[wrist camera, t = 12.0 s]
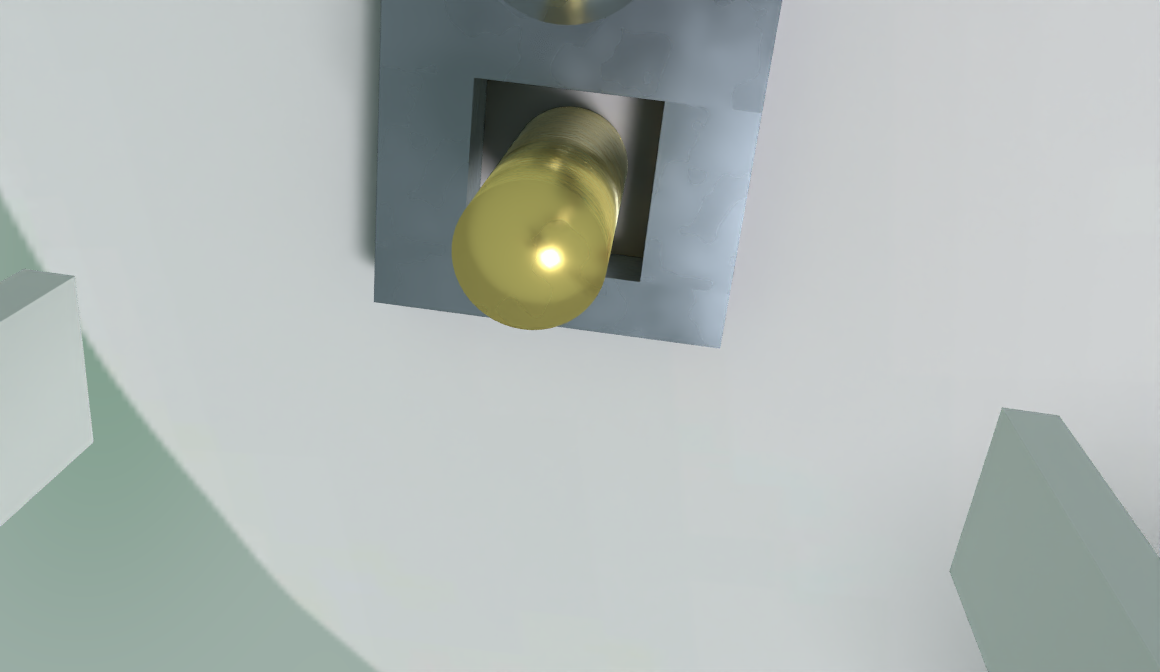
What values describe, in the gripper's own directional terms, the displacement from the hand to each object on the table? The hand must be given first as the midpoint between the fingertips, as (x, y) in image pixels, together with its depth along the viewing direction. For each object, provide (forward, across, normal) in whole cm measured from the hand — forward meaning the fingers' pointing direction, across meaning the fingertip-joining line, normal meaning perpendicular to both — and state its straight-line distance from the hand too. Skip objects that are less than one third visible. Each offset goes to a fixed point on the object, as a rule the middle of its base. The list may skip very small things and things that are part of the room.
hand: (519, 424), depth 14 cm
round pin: (+21, -2, -2) cm, 21 cm away
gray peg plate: (+21, -2, +2) cm, 22 cm away
